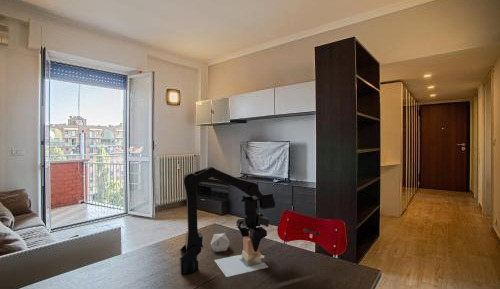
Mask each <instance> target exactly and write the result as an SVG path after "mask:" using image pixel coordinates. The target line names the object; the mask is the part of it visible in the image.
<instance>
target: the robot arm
mask: <svg viewBox="0 0 500 289" xmlns="http://www.w3.org/2000/svg"><path fill="white" fill-rule="evenodd" d="M211 178H213V179H216V180H217V181H220V182H222V183H225V184H227V185H231V186H233V187H235V188H236V189H238V190H240V191H241V192H243V193H244V194H246V196H245V195H244V194H242V195H241V196H240V197H239V198H238V200H239V201H240V202H243V212H242V213H241V214H242V216H243V218H239V219H237V220H236V226H237V229H238V231H239V233H240V234H241V237H242V238H243V237H245V236H250V240H251V243H252V246H253V249H254V251H255V252H257V250H258V247H259V248H260V243H261V241H262V240H263V239H264V238H266V237H268V231H267V230H266V229H265V228H264V227H263V226H265V227H266V228H268V227H269V225H270V222H271V219H270V218H269V217H265V216H264V214H263V213H261V212H258V209H259V210H260V211H265V210H267V211H268V210H275V208H276V202H275V198H274V194H273V193H270V192H269V193H262V192H261V191H260V189H259V185H258V184H257V183H256V182H254V181H251V180H248V179H242V178H238V177H235V176H232V175H231V174H228V173H227V172H224V171H221V170H219V169H217V168H215V167H214V166H208V167H206V168H203V169H200V170H197V171H194V172H191V171H189V172H186V173H185V174H184V175H183V177H182V181H183V187H184V191H185V194H186V195H185V196H186V216H187V231H186V236H185V237H186V238H185V241H184V242H185V244H184V245H183V246H182V247H181V248H180V250H179V252H180V257H179V272H180V273H179V274H180V275H181V276H183V275H185V276H189V275H193V274H194V273H196V272H198V271H199V260H198V256H199V254H201V252H202V248H204V246H203V235H202V232H201V231H200V232H199V231H198V228H199V227H198V208H197V207H198V204H197V200H198V199H197V196H198V195H197V194H198V192H199V191H198V190H199V184H201V183H204V182H205V181H207V180H208V179H211Z"/></svg>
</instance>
